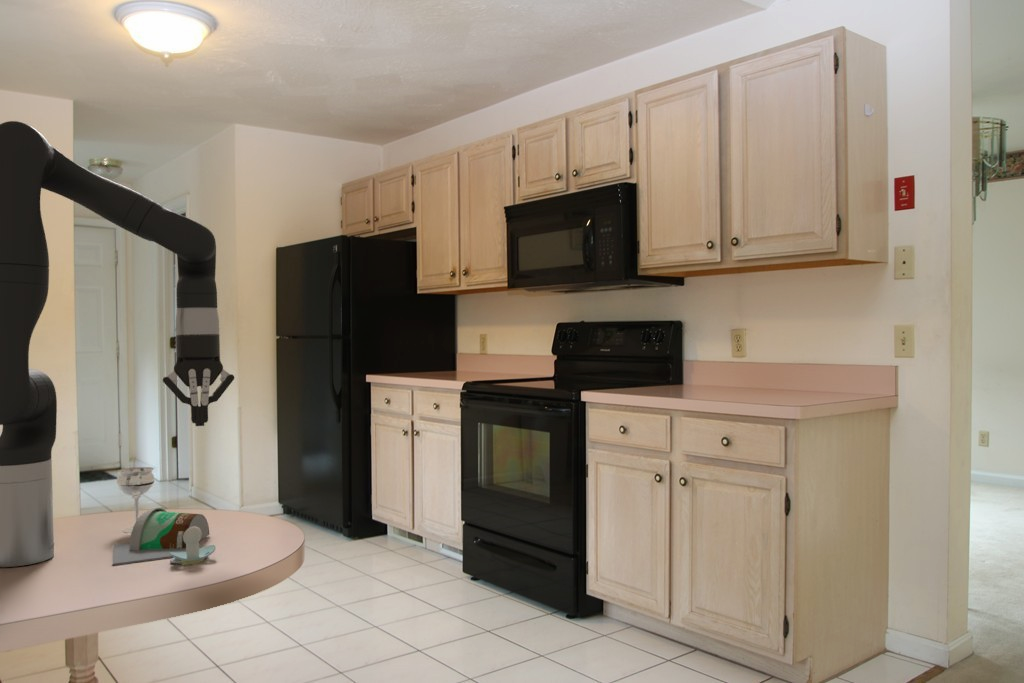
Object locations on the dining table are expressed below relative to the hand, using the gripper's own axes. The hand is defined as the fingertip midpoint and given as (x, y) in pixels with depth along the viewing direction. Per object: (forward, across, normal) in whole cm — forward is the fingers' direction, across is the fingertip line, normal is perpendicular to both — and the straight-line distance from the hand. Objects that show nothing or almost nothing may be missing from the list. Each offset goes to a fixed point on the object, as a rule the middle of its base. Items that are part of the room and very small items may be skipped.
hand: (200, 425), depth 144 cm
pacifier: (+22, -3, -12) cm, 25 cm away
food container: (+18, -1, 0) cm, 18 cm away
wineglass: (+22, -11, +18) cm, 30 cm away
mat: (+22, -8, -1) cm, 23 cm away
